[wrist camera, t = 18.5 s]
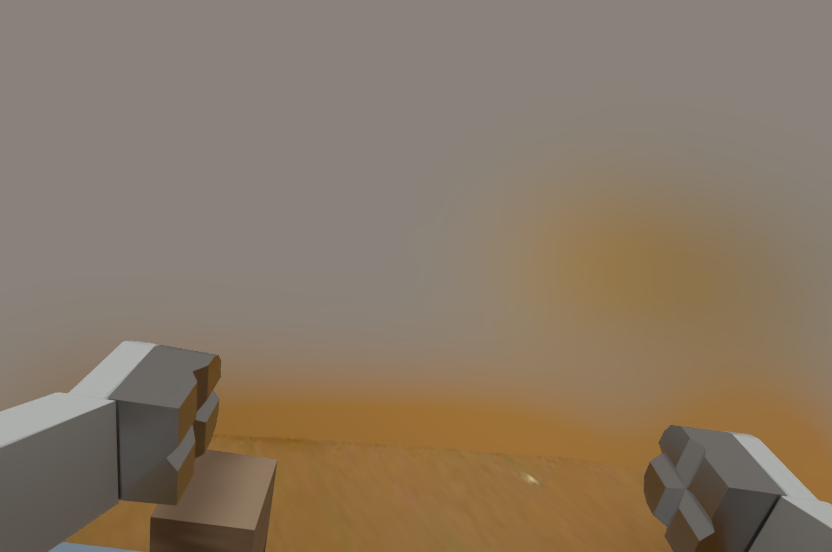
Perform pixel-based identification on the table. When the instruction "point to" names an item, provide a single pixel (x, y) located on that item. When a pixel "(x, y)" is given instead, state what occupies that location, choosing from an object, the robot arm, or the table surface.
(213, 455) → the pillar
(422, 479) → the table surface
